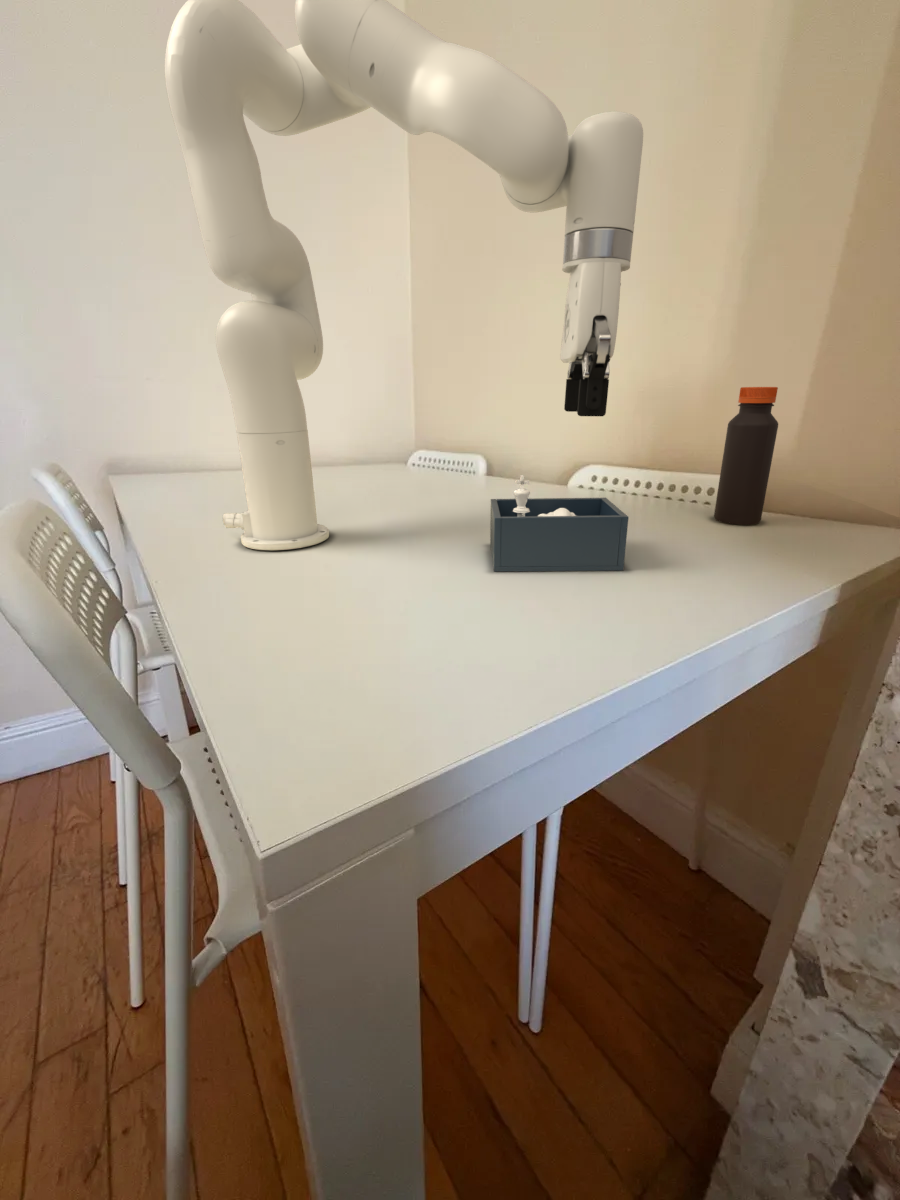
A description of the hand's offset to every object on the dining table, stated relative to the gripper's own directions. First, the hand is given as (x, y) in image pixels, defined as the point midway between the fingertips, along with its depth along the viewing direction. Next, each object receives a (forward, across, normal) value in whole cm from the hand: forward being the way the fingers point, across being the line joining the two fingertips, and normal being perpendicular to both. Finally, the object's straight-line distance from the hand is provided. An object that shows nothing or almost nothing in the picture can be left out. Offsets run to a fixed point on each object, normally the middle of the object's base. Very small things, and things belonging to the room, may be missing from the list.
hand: (583, 413), depth 71 cm
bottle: (+17, -16, +29) cm, 37 cm away
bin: (+18, +3, -3) cm, 18 cm away
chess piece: (+17, +3, -7) cm, 19 cm away
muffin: (+15, +4, +1) cm, 16 cm away
